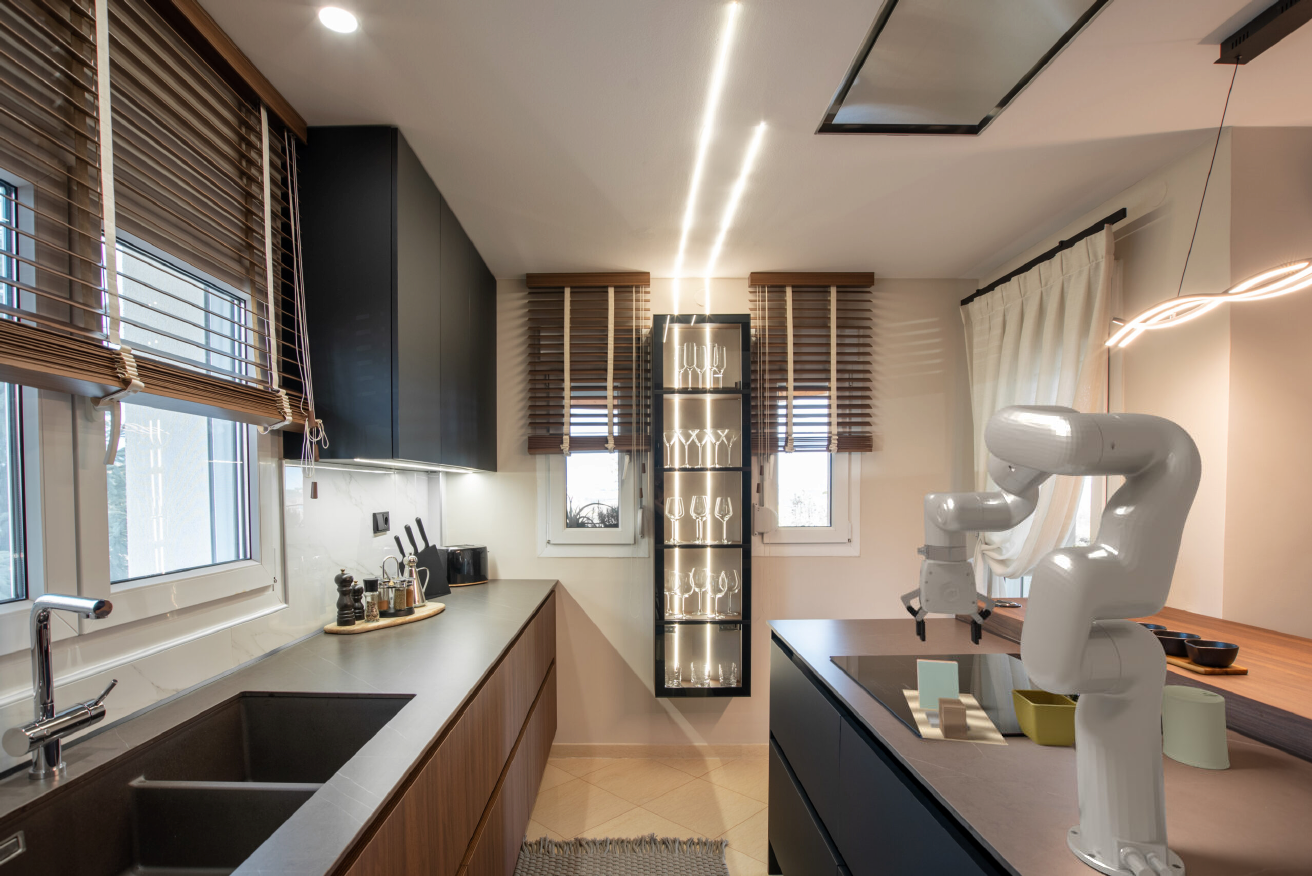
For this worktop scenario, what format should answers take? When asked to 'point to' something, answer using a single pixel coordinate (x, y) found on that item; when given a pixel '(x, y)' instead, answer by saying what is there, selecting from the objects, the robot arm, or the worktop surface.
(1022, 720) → the flower pot
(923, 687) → the tile
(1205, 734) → the can
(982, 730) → the board
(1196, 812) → the worktop surface
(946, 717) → the block on grey plate
